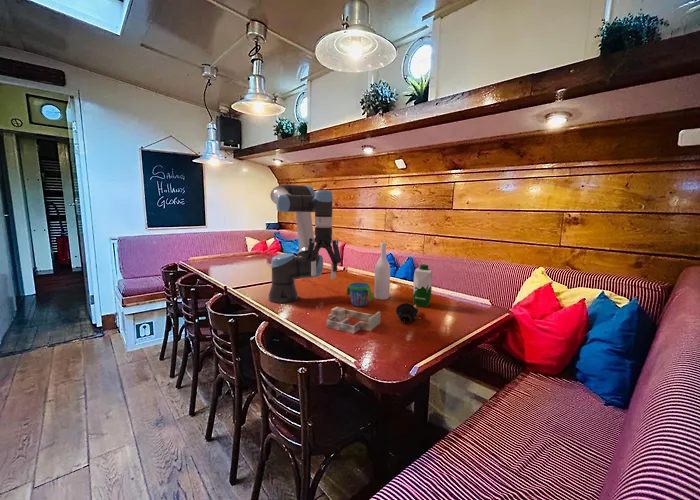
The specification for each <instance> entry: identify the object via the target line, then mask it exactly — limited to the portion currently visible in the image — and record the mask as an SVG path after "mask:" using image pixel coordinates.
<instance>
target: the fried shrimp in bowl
mask: <svg viewBox="0 0 700 500" xmlns="http://www.w3.org/2000/svg"><path fill="white" fill-rule="evenodd" d="M419 311H420V309H419V307H417V306H416V304H414V305H413V304H412V303H409V302H408V303H401V304H399V305H397V307H396V310H395V314H396V315H397V318H398V319H399V321H401V323H402V324H409V323H411V322H412V321H413V320H414V319H416V318H417V317H418V313H419ZM404 319H405V320H404ZM404 321H405V322H404ZM406 321H407V322H406Z"/></svg>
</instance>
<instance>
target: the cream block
mask: <svg viewBox="0 0 700 500" xmlns="http://www.w3.org/2000/svg"><path fill="white" fill-rule="evenodd" d="M345 309H346V308H345V307H340V306H335V307H333V308H331V309H330V314H332V315H336V321H337V322H340V321H342V320H344V319H345V318H346V316H345Z"/></svg>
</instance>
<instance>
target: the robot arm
mask: <svg viewBox="0 0 700 500" xmlns="http://www.w3.org/2000/svg"><path fill="white" fill-rule="evenodd" d="M269 196H270V199H271V201H272V202H273V203H274V205H276V210H277V212H283V213H295V219H296V229H297V230H296V231H297V239H298V250H299V251H298V252H296V255H295V254H294V253H292V252H291V253H282V254H277V255H275V256H273V257H272V258H271V266H270V267H271V286H270V290H269V294H268V300H269V302H271V303H276V304H285V303H292V302H295V301H297V300H298V299H299V293H298V290H297V287H296V284H295V281H296V280H295V279H310V278H311V279H312V278H319V277H320V276H321V274H322V272H323V268H324V258H323V255H321V254H319V252H320V250H321V249H325V250H326V252H327V254H328V256H329V258H330V261H331V264H330V279H331V280H334V279H336V273H337V271H338V264H340V263H342V258H341V253H340V249H339V239H333V238H332V236H333V227H332V226H333V201H334V198H333V192H332V190H327V189H325V190H324V189H323V190H322V189H321V190H318V189H317V190H314V188H313V187H312V186H311V185H306V184H302V185H301V184H300V185H299V184H280V185H277V186H276V187H274V188H273V189H272V190H271V192H270V195H269ZM312 213H314V226H315V227H314V226H313V220H312ZM313 227H314V228H313ZM315 243H316V244H315Z"/></svg>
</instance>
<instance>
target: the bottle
mask: <svg viewBox="0 0 700 500" xmlns="http://www.w3.org/2000/svg"><path fill="white" fill-rule="evenodd" d="M386 253H387V242H384V241H383V242H381V243H380V257H379V259H378V260H377V262H376V263H375V265H374V290H373V293H374V294H373V296H374V299H376V300H383V301H384V300H389V298H390V285H391V282H390V281H391V265H390V263H389V261H388V259H387V257H386V256H387V255H386Z"/></svg>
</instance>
